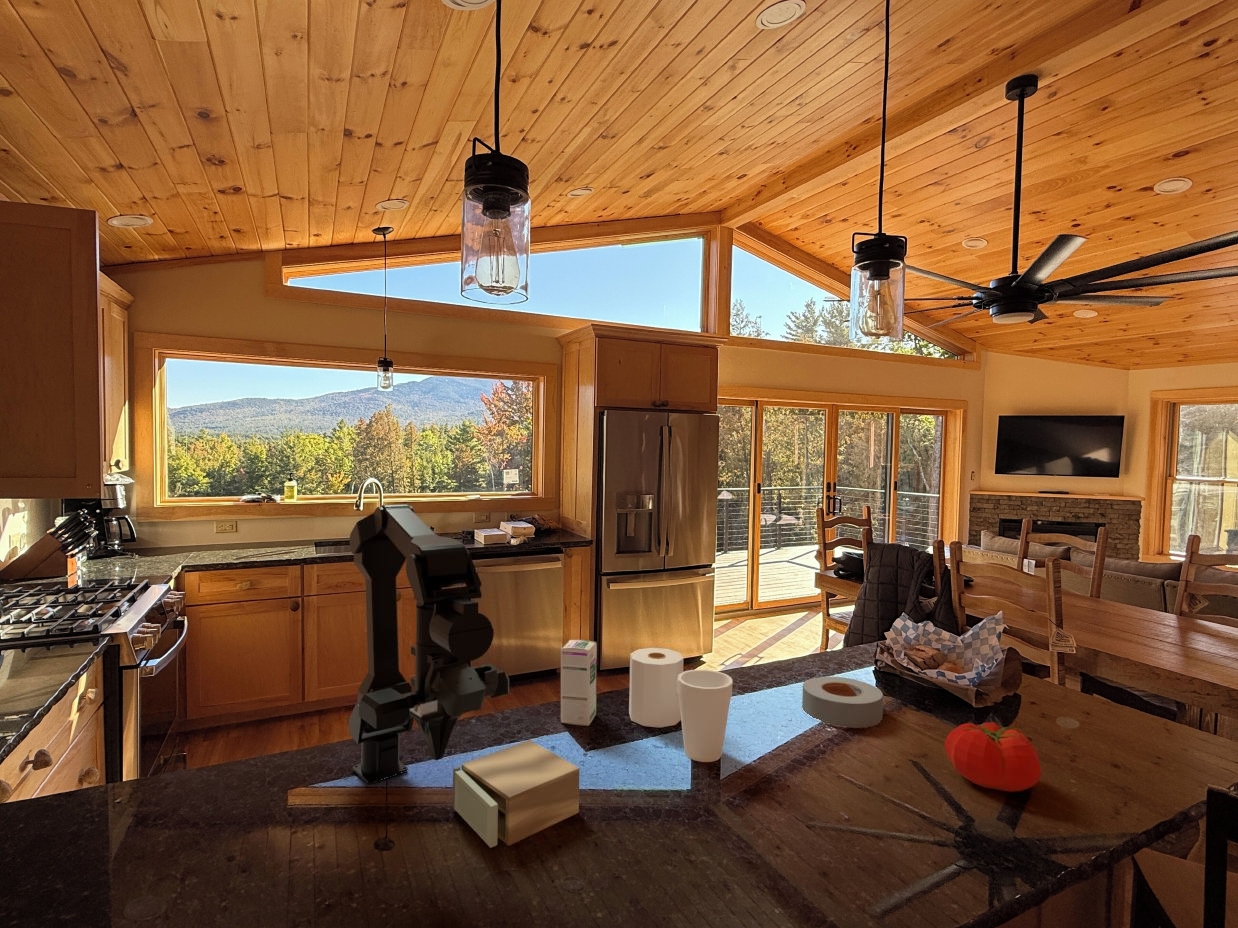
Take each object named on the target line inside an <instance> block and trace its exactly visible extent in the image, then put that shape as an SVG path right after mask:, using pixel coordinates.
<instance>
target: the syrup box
mask: <svg viewBox="0 0 1238 928" xmlns="http://www.w3.org/2000/svg"><path fill="white" fill-rule="evenodd" d="M597 649H598V648H597V642H596V641H594V640H593V641H592V640H586V639H569V640H568V642H566V643H565V644H564V645H563V647H561V648H560V723H561V724H566V725H567V724H568V725H575V726H576V725H577V726H585V727H586V726H590V725H591V723H592V722H593V720H594V718H595V716H596V715H597V681H598V680H597V671H598V670H597V655H598V654H597Z"/></svg>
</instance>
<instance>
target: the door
mask: <svg viewBox="0 0 1238 928" xmlns="http://www.w3.org/2000/svg"><path fill="white" fill-rule="evenodd" d="M452 809H454V810H455V811H456V812H457V814H458V815H459V816H461V818H462V819H463V820H464V821H465V822H466V823H467V824H468V825H469V827H471V829H472V830H473V831H474V832H475V833H476V834H477V835H478V836H479V837H480V838H481V839H482V841H484V843H485V844H486V845H487V846H488V847H489V848H490V849H491V848H493V847H496V846H497V845H498V837H497V835H498V804H497V803H496V802H495V801H494V800H493V799H492V798H491V797H490V796H489V795H488V794H487V793H486V792H485V791H484V790H482V789H481V788H480V787H479V786H478V785H477V784H476V783H475V782H474V781H473V780H472V779H471V778H470V777H469V776H468V775H467V774H466V773H465V772H463V771H462V769H461V767H460V766H454V767H453V768H452Z"/></svg>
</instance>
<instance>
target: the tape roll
mask: <svg viewBox="0 0 1238 928" xmlns="http://www.w3.org/2000/svg"><path fill="white" fill-rule="evenodd" d="M801 699H802V701H801V703H802V704H801V709H802V708H803V710H804V711H805V712H806V713H807V714H809V715H810V716H812V717H813V718H816V719H819V720H821V721H823V722H826V723H830V724H834V725H840V726H846V727H864V726H872V725H874V724H877V723H879V722H880V721H881V720H882V721H883V719H882V718H884V717H883V715H884V714H883V712H884V711H883V710H884V709H883V708H884V694H883V692H882V691H881V689H880V688H878V687H876V686H875V685H872V684H870V683H867V682H865V681H862V680H857V679H853V678H848V677H842V676H841V677H840V676H820V677H812V678H810V679H807V680H805V681H804V682H803V683H802V698H801ZM803 710H802V711H803Z"/></svg>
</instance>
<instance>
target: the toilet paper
mask: <svg viewBox="0 0 1238 928" xmlns="http://www.w3.org/2000/svg"><path fill="white" fill-rule="evenodd" d="M629 655H630V656H629V657H630V659H629V661H630V662H629V695H628V696H629V701H628V702H629V704H628V714H629V718H630V720H631V721H632V722H634V723H635V724H638V725H641V726H643V727H652V728H660V729H661V728H664V727H670V726H675V725H677V724H678V723H679V722H681V713H680V703H679V694H678V693H677V683H678V675H679V674H681V673H682V672H684V656H683V655H682V654H681V652H679V651H675V650H673V649H670V648H662V647H661V648H659V647H647V648H640V649H636V650H635V651H633V652H631V653H630V654H629Z"/></svg>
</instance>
